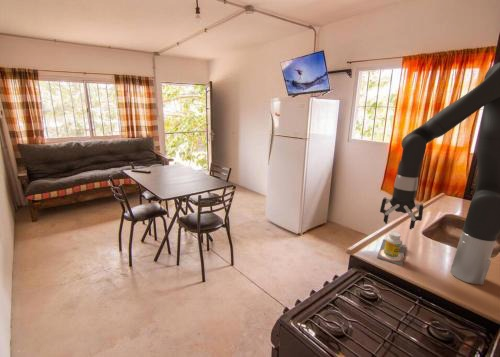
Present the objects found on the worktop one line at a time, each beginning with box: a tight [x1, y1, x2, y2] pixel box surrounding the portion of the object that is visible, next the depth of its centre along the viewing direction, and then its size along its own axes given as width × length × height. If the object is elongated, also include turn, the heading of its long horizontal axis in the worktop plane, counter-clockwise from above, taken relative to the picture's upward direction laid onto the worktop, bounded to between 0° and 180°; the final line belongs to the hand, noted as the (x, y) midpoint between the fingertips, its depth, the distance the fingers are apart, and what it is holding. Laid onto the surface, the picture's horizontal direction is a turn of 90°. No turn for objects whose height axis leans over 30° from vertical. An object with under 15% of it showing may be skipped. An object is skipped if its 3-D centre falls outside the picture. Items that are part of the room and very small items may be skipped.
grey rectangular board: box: [376, 238, 406, 267], centre depth 110 cm, size 9×18×3 cm, turn 146°
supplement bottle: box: [384, 231, 402, 258], centre depth 105 cm, size 5×5×10 cm
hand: (398, 225), depth 103 cm, fingers open, 8 cm apart
